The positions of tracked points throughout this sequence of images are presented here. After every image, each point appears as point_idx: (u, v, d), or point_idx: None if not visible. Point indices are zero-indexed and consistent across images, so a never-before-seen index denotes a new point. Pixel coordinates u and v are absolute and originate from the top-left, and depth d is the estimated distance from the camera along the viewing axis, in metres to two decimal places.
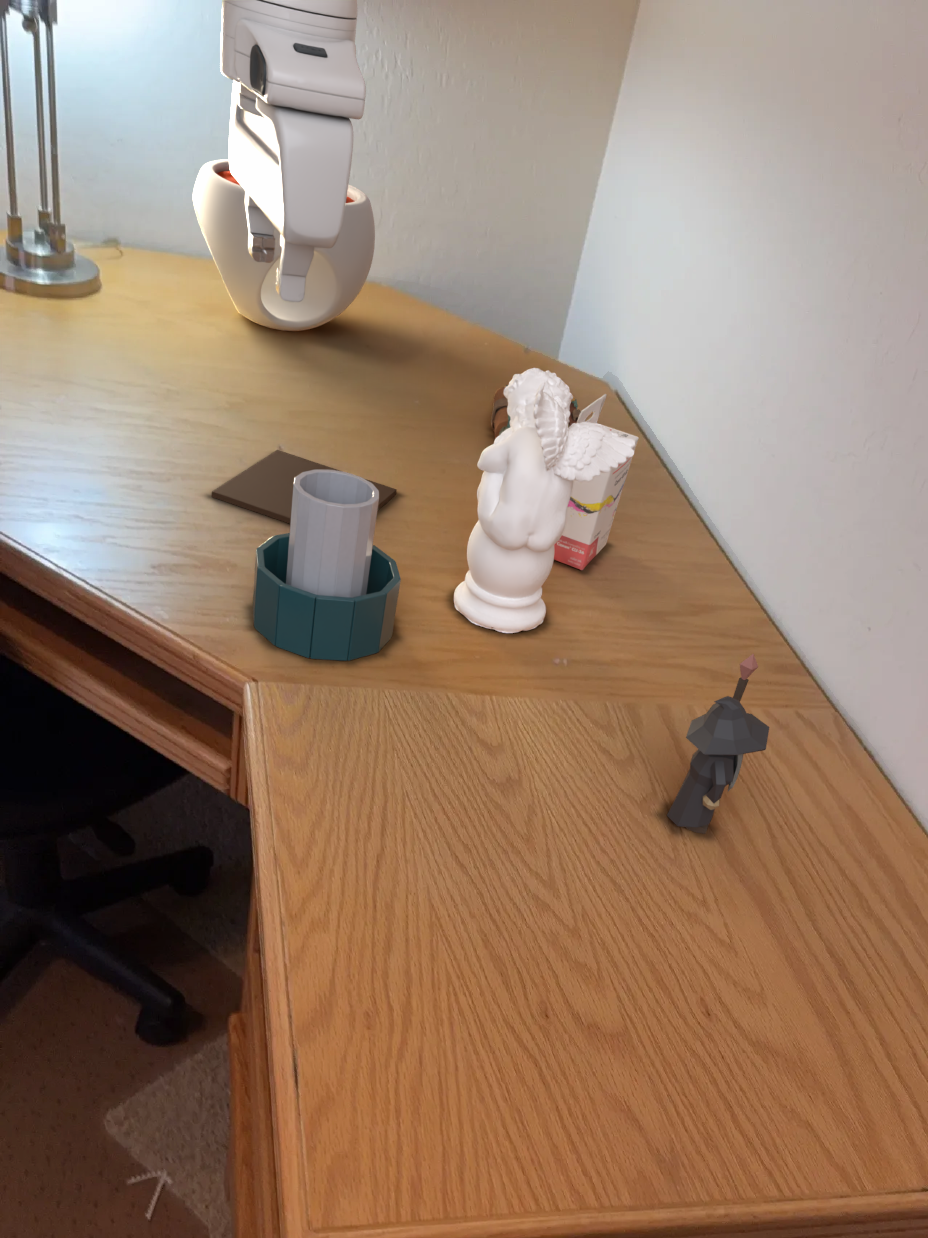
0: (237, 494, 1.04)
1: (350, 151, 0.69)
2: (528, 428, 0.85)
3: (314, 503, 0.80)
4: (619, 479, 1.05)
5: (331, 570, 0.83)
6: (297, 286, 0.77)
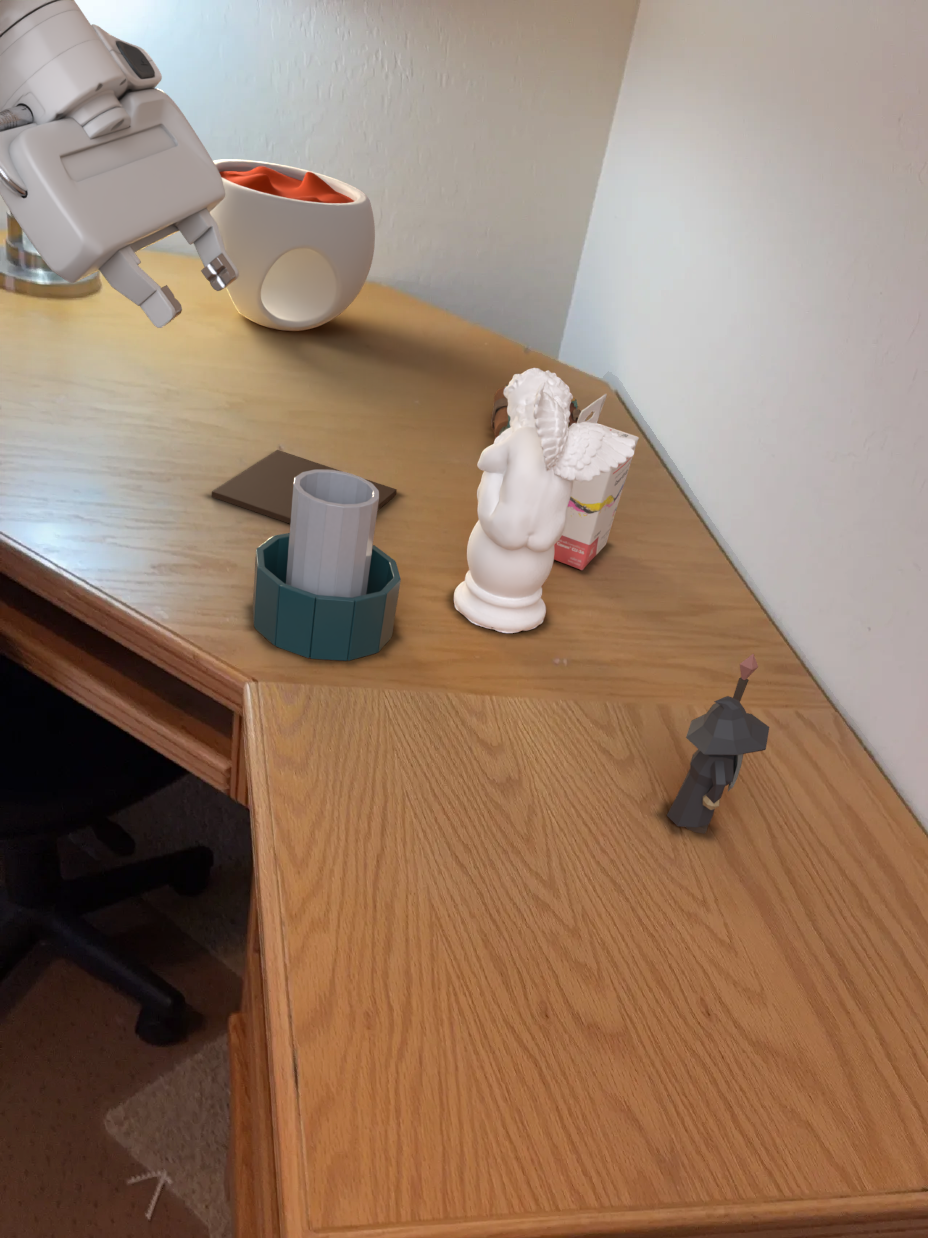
0: (237, 494, 1.04)
1: None
2: (528, 428, 0.85)
3: (314, 503, 0.80)
4: (619, 479, 1.05)
5: (331, 570, 0.83)
6: None
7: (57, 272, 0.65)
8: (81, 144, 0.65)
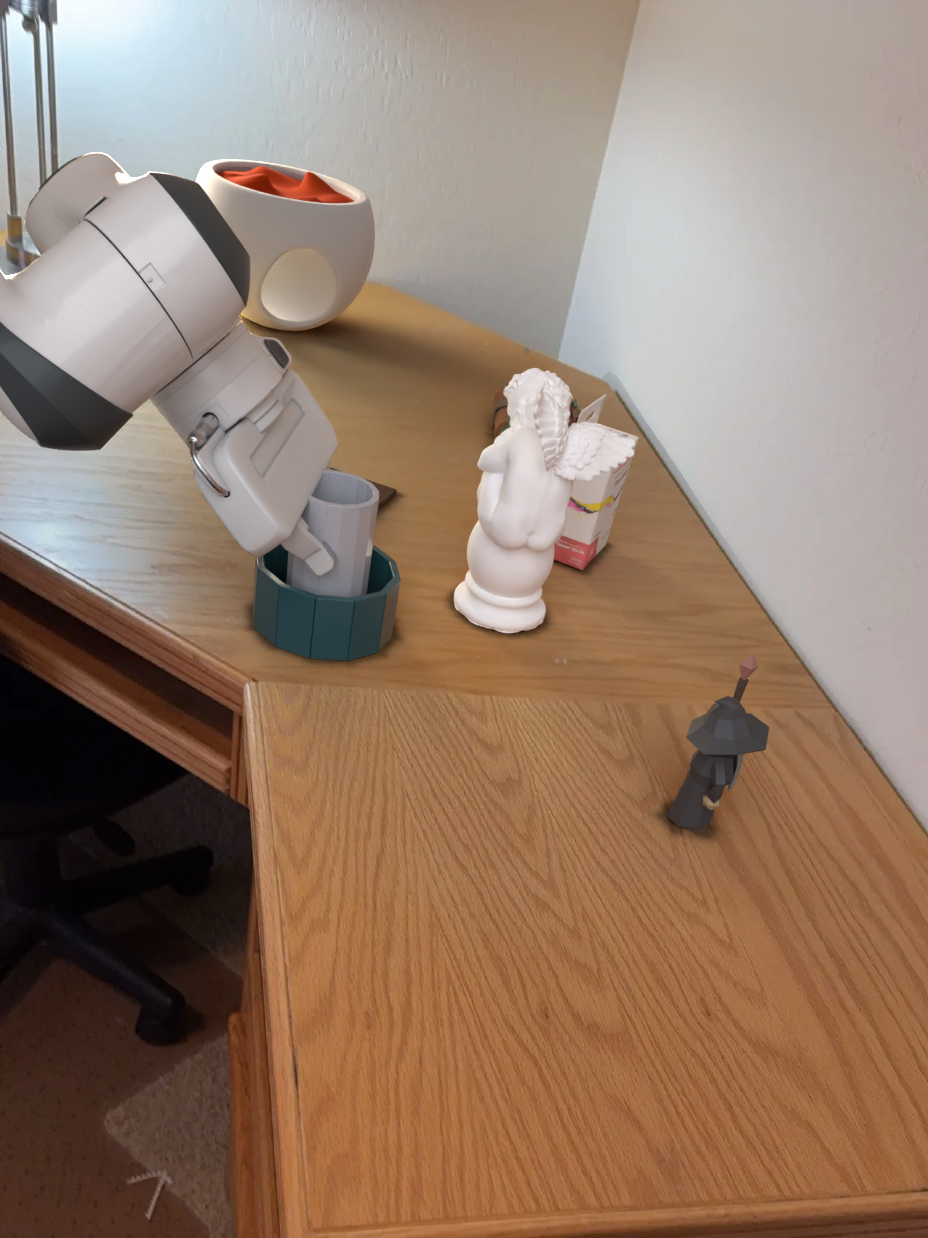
0: None
1: None
2: (528, 428, 0.85)
3: (314, 503, 0.80)
4: (619, 479, 1.05)
5: (331, 570, 0.83)
6: None
7: (249, 551, 0.76)
8: (258, 440, 0.77)
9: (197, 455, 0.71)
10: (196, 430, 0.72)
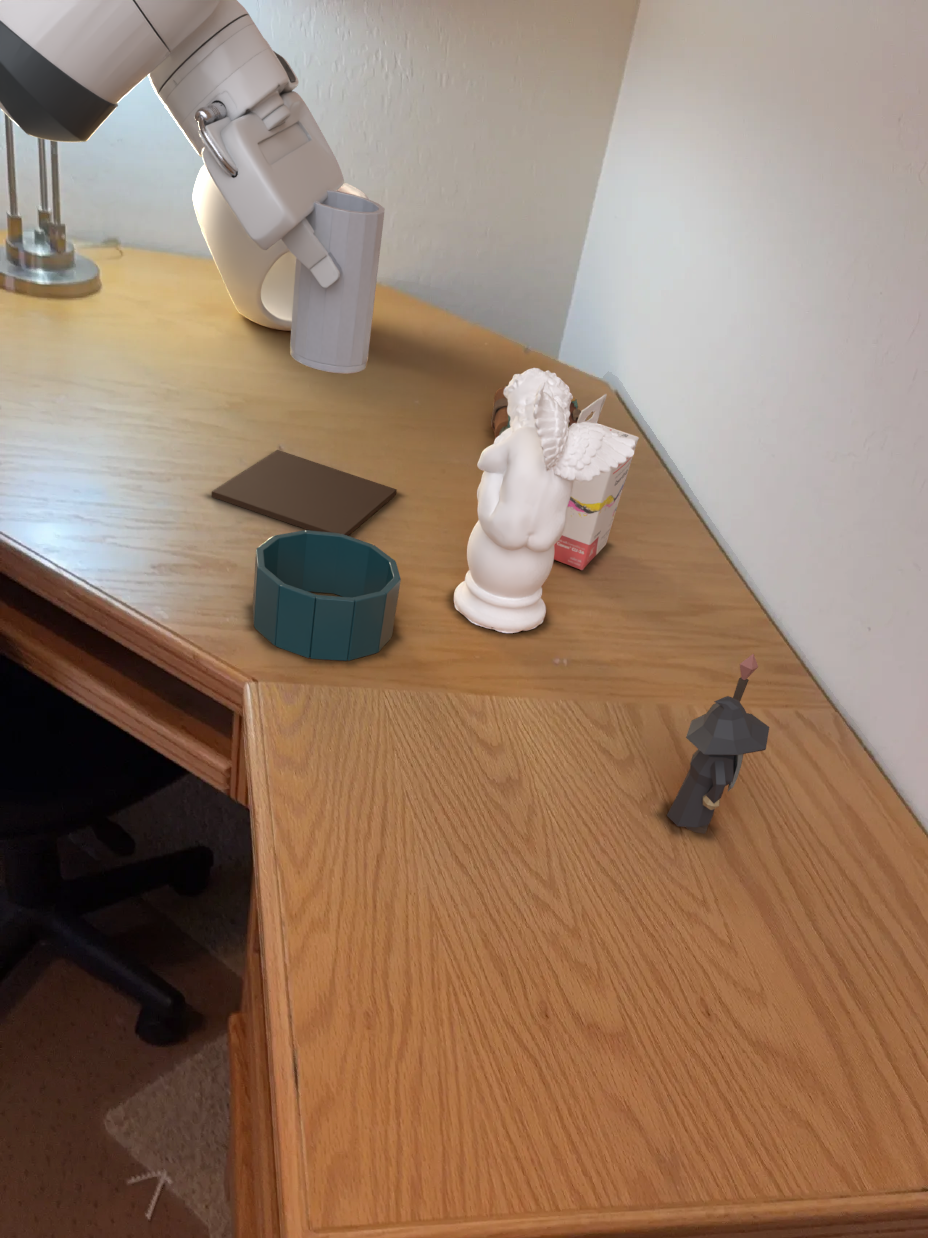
0: (237, 494, 1.04)
1: None
2: (528, 428, 0.85)
3: (320, 208, 0.81)
4: (619, 479, 1.05)
5: (337, 286, 0.85)
6: None
7: (256, 240, 0.77)
8: (265, 134, 0.78)
9: (206, 127, 0.73)
10: (205, 107, 0.74)
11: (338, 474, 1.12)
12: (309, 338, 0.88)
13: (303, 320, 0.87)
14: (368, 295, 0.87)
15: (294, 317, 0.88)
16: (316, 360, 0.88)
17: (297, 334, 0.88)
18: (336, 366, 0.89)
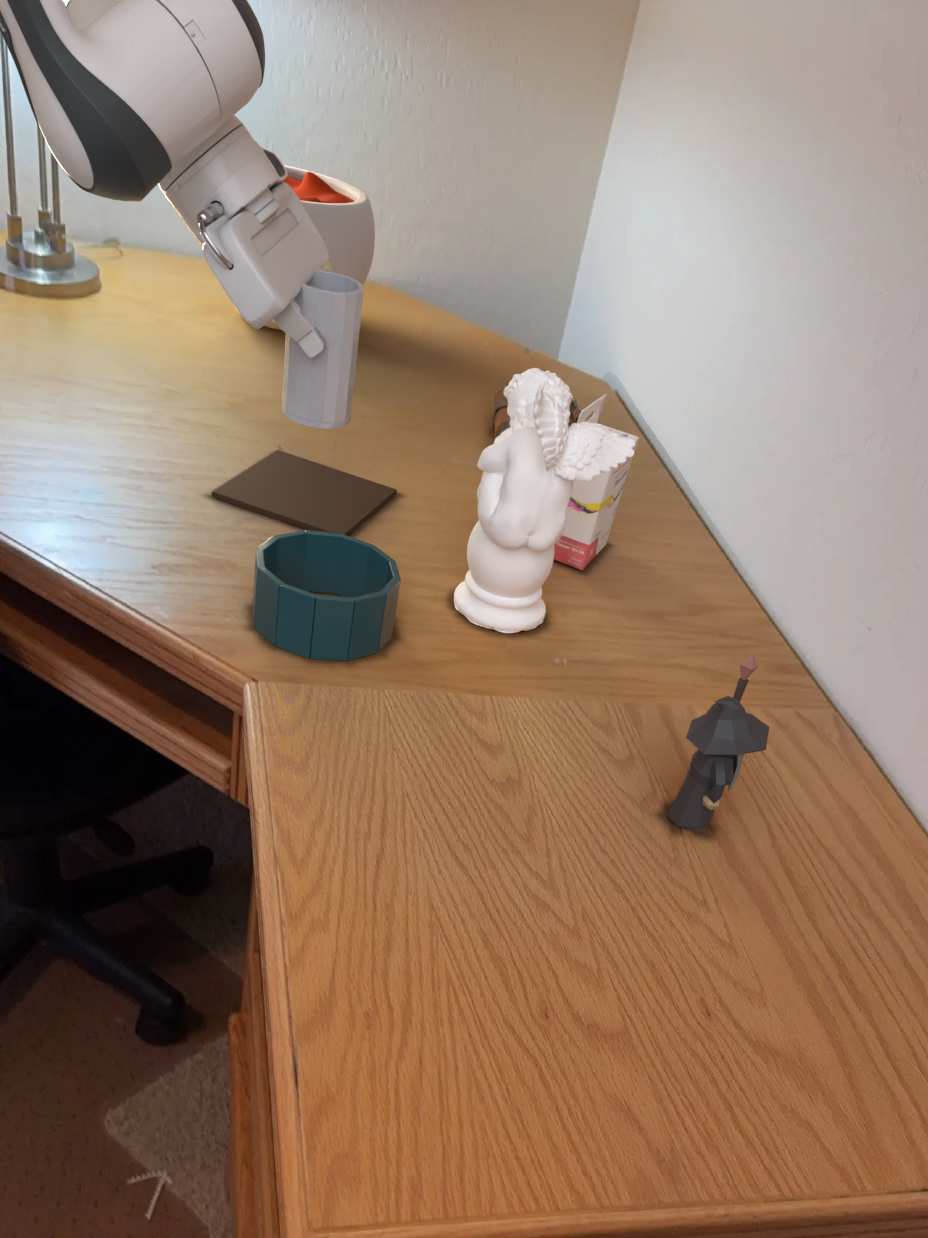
0: (237, 494, 1.04)
1: None
2: (528, 428, 0.85)
3: (307, 289, 0.93)
4: (619, 479, 1.05)
5: (322, 355, 0.96)
6: None
7: (250, 322, 0.88)
8: (258, 228, 0.89)
9: (205, 228, 0.84)
10: (205, 209, 0.85)
11: (338, 474, 1.12)
12: (298, 399, 0.99)
13: (293, 383, 0.98)
14: (350, 361, 0.98)
15: (285, 380, 0.99)
16: (304, 418, 1.00)
17: (287, 395, 0.99)
18: (322, 423, 1.00)
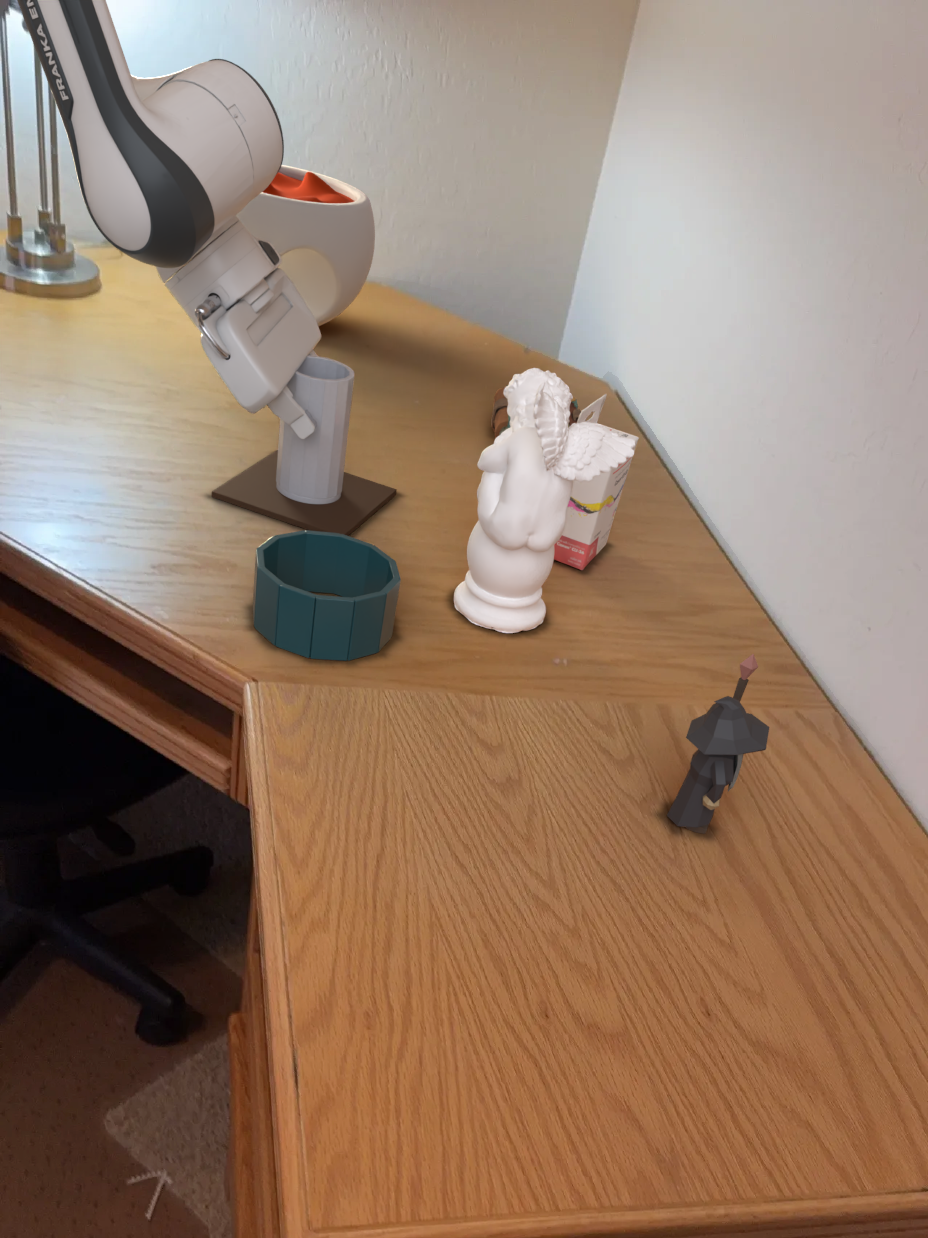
0: (237, 494, 1.04)
1: None
2: (528, 428, 0.85)
3: (300, 378, 0.98)
4: (619, 479, 1.05)
5: (315, 437, 1.01)
6: None
7: (246, 407, 0.93)
8: (253, 318, 0.94)
9: (204, 322, 0.89)
10: (203, 304, 0.90)
11: None
12: (292, 477, 1.04)
13: (286, 462, 1.03)
14: (341, 442, 1.03)
15: (279, 459, 1.04)
16: (298, 494, 1.05)
17: (282, 473, 1.04)
18: (315, 499, 1.05)
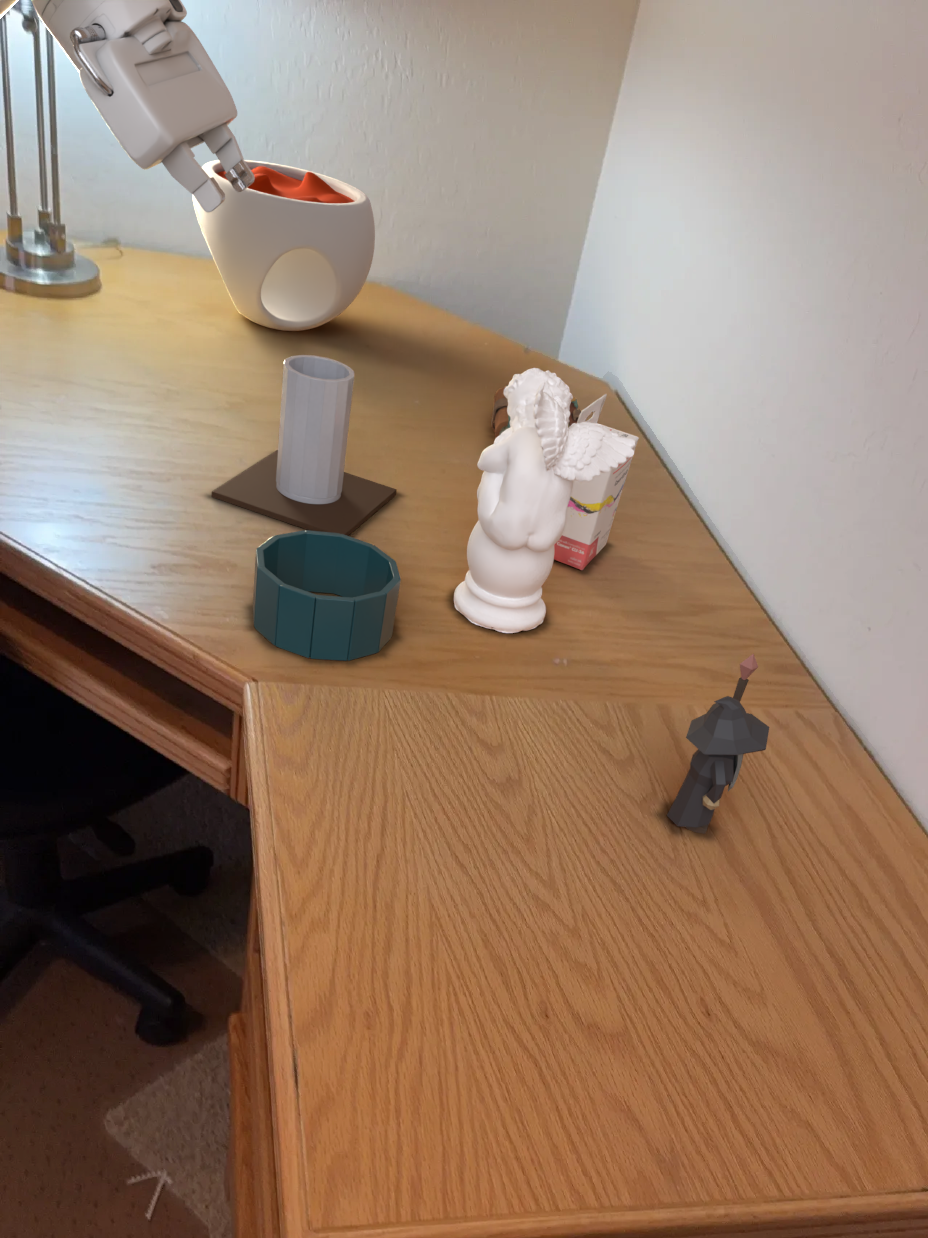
0: (237, 494, 1.04)
1: None
2: (528, 428, 0.85)
3: (300, 378, 0.98)
4: (619, 479, 1.05)
5: (315, 437, 1.01)
6: None
7: (135, 159, 0.80)
8: (145, 57, 0.81)
9: (79, 45, 0.75)
10: (80, 27, 0.76)
11: None
12: (292, 477, 1.04)
13: (286, 462, 1.03)
14: (341, 442, 1.03)
15: (279, 459, 1.04)
16: (298, 494, 1.05)
17: (282, 473, 1.04)
18: (315, 499, 1.05)
